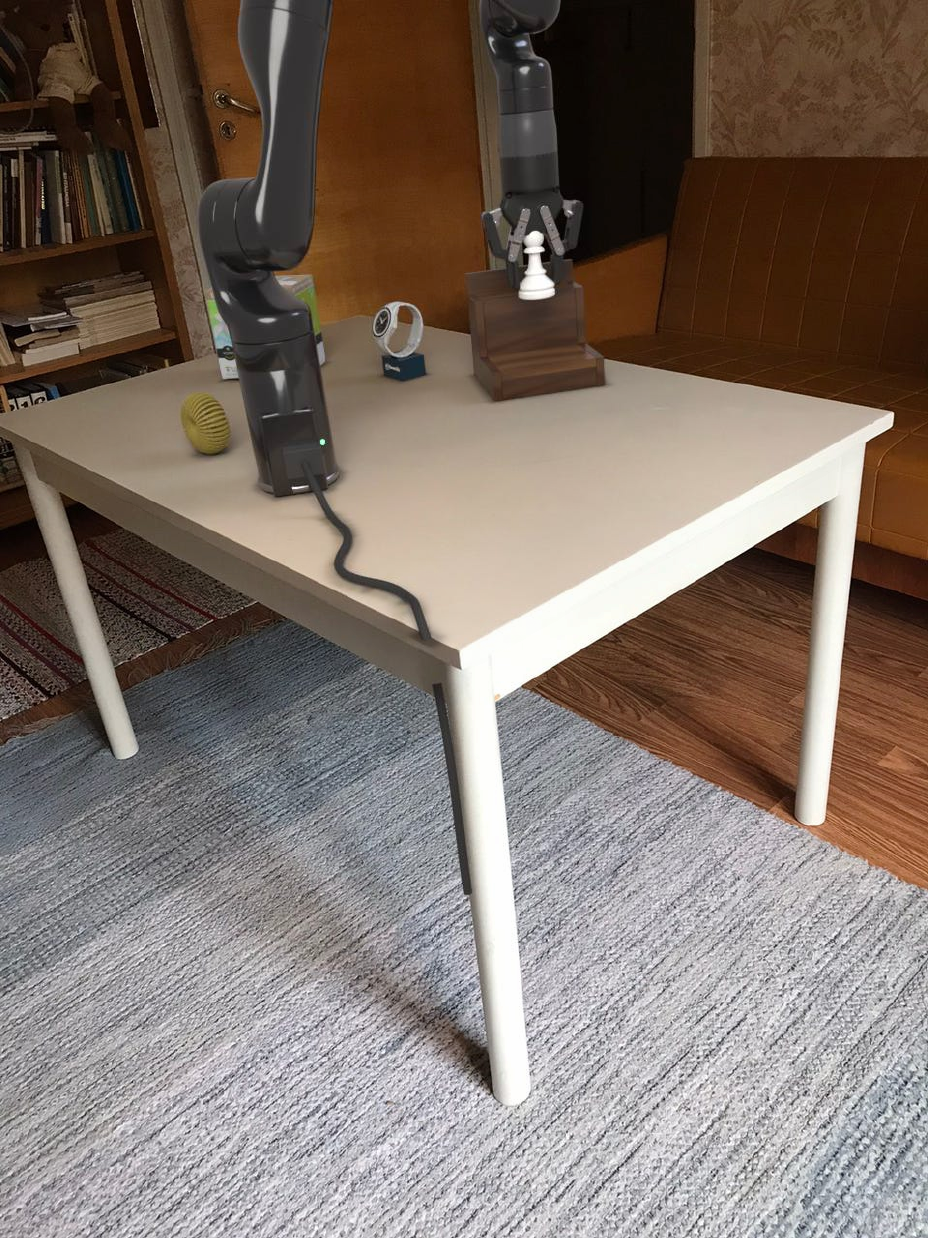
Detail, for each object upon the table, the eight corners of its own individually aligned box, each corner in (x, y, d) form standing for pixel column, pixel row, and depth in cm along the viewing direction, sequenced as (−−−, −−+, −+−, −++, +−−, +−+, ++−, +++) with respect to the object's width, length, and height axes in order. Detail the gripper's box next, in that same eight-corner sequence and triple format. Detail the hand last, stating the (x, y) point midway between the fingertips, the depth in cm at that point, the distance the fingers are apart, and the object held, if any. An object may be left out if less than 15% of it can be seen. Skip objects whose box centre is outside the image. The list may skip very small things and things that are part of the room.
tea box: (221, 381, 165) (201, 288, 158) (246, 365, 174) (229, 276, 167) (305, 379, 161) (289, 283, 154) (328, 362, 170) (313, 271, 163)
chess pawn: (512, 300, 138) (508, 230, 134) (526, 292, 142) (522, 224, 137) (547, 300, 136) (543, 229, 131) (560, 292, 140) (556, 223, 135)
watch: (373, 378, 158) (363, 306, 152) (415, 366, 162) (407, 296, 156) (392, 384, 154) (382, 310, 148) (435, 371, 157) (427, 299, 152)
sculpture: (241, 453, 131) (228, 393, 127) (214, 463, 129) (200, 402, 125) (209, 443, 136) (196, 385, 132) (183, 452, 134) (168, 393, 130)
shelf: (605, 384, 142) (601, 274, 135) (494, 401, 140) (485, 290, 133) (575, 360, 155) (571, 258, 148) (474, 375, 153) (464, 273, 146)
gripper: (479, 158, 126) (491, 298, 134) (590, 145, 128) (594, 283, 136) (468, 155, 132) (479, 288, 141) (573, 142, 134) (579, 275, 142)
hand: (536, 285), depth 138 cm, fingers closed on chess pawn, 5 cm apart
